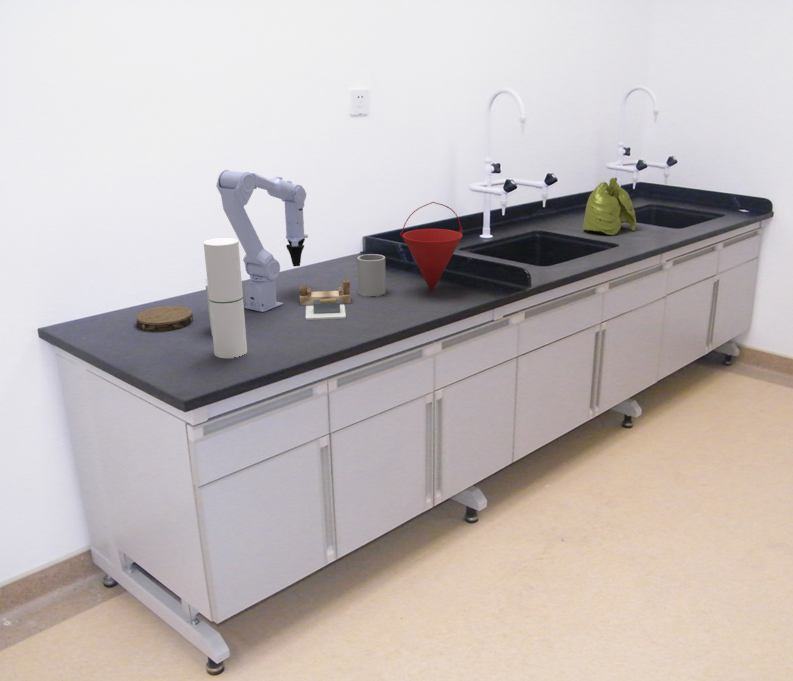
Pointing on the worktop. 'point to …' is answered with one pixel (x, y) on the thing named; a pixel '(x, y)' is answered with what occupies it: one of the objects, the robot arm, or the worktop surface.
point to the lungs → (609, 209)
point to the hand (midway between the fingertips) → (296, 263)
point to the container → (225, 297)
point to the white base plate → (324, 314)
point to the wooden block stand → (325, 294)
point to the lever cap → (326, 306)
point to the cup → (371, 275)
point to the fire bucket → (432, 249)
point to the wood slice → (164, 318)
